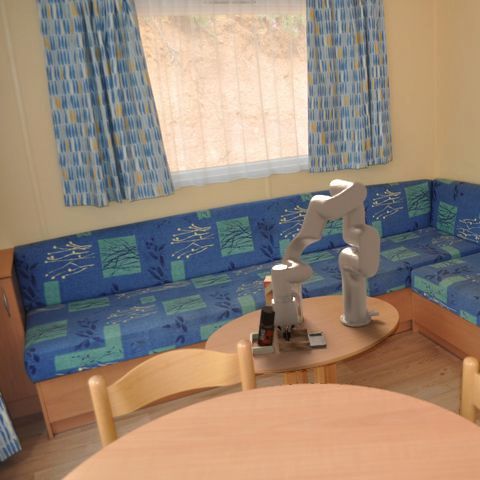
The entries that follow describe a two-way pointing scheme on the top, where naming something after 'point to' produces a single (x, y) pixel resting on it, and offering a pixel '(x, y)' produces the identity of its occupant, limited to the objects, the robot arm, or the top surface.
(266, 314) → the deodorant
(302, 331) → the channel
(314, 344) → the tray
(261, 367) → the top surface
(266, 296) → the coffeecake box
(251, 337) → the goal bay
